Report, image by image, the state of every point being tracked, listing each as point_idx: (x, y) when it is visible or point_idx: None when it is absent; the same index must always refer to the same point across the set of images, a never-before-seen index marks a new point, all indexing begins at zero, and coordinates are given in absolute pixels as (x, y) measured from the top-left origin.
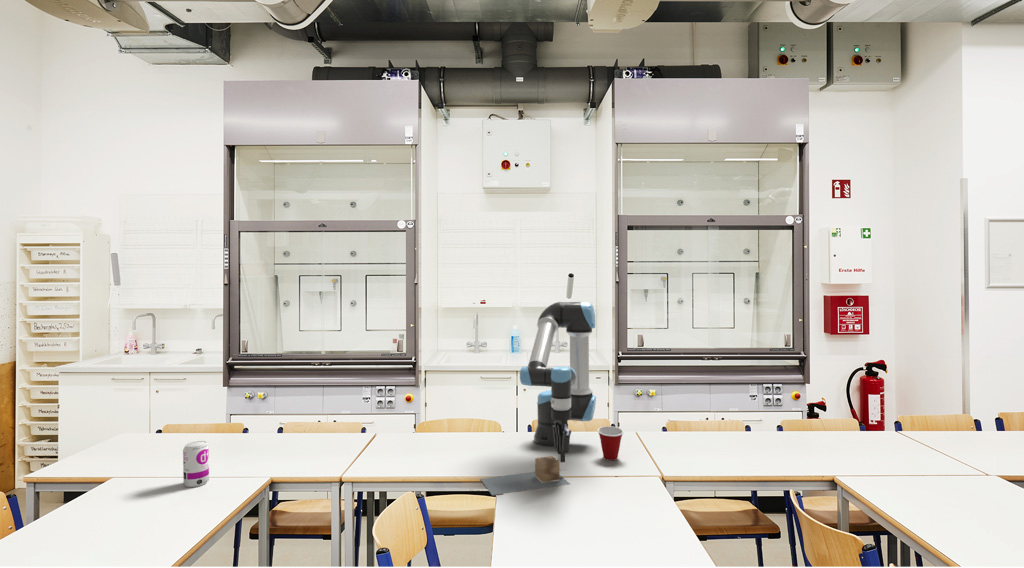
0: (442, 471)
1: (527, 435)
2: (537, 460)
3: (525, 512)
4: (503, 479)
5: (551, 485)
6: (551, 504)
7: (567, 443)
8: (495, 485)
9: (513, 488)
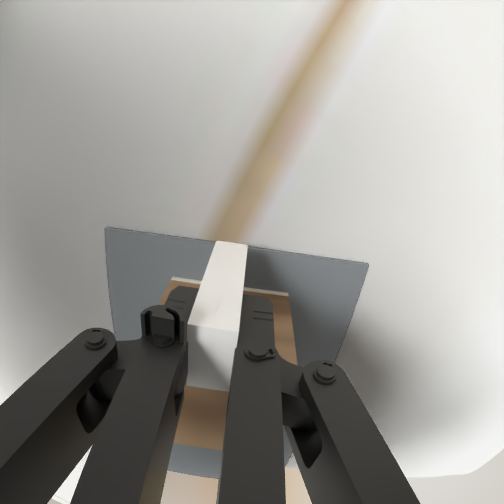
0: (78, 468)
1: None
2: (190, 444)
3: (415, 450)
4: None
5: (323, 354)
6: (440, 399)
7: (394, 498)
8: (212, 466)
9: None
